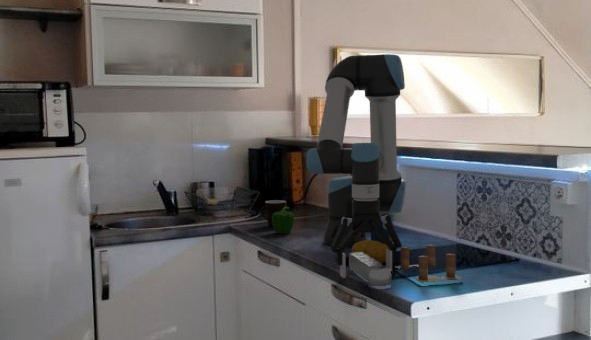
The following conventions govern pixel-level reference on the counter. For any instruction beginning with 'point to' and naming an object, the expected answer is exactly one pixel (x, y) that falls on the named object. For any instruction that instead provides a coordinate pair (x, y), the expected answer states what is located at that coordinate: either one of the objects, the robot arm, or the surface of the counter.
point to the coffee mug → (273, 209)
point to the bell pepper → (283, 221)
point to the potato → (372, 249)
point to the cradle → (429, 265)
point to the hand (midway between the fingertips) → (366, 274)
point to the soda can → (382, 226)
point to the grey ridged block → (370, 269)
